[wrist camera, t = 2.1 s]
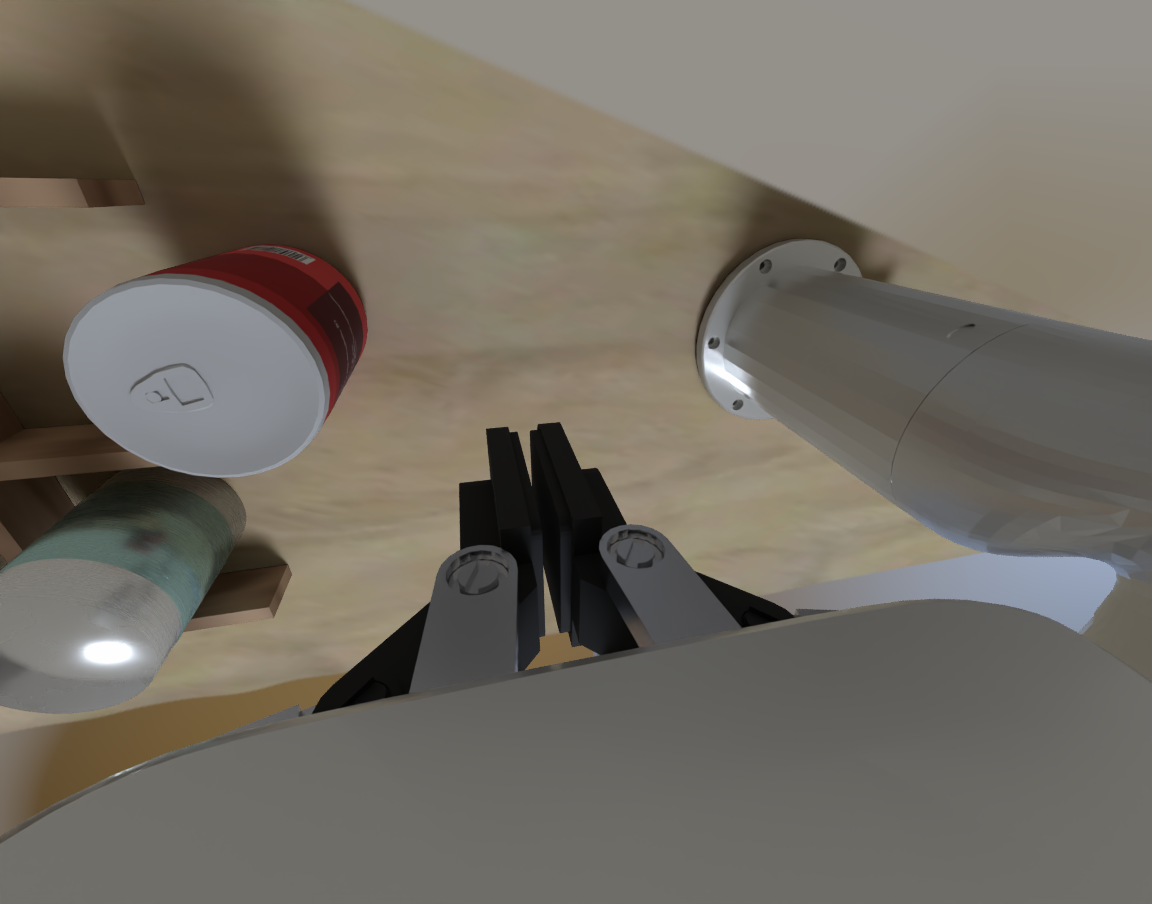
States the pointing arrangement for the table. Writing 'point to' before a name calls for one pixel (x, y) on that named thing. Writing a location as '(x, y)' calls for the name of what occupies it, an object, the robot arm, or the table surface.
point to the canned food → (218, 359)
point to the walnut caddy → (96, 444)
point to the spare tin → (112, 589)
